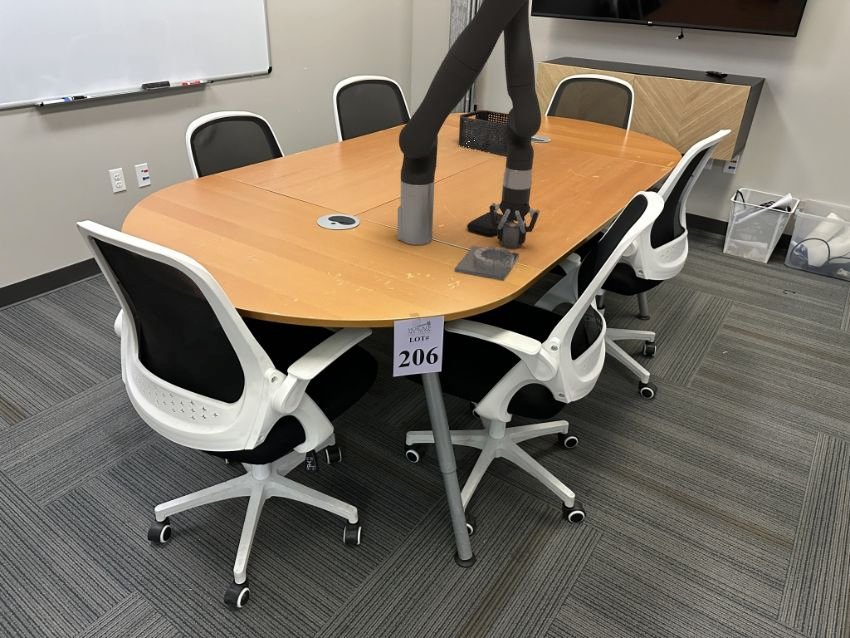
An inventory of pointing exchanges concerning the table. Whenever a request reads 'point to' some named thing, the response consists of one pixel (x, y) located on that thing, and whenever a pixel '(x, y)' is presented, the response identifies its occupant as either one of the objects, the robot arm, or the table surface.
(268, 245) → the table surface
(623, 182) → the table surface
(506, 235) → the dark gray cylinder
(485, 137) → the storage bin
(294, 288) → the table surface
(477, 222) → the carrying case or bag
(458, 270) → the lens mount
